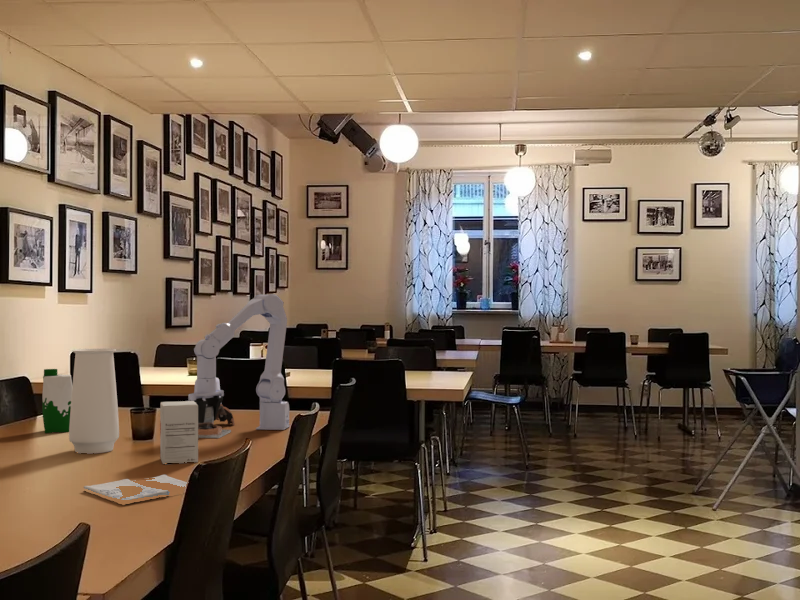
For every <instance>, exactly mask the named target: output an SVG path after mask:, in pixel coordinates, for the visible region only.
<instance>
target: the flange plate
mask: <svg viewBox="0 0 800 600" xmlns="http://www.w3.org/2000/svg"><path fill="white" fill-rule="evenodd" d="M230 433H232V429H224V428H222V426H220V425H217V424H216V425H215V424H214V428H212V429H198V439H219V438H222V437H224V436H226V435H228V434H230Z"/></svg>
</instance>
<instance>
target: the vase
mask: <svg viewBox="0 0 800 600" xmlns="http://www.w3.org/2000/svg"><path fill="white" fill-rule="evenodd" d="M116 351H117V349H116V348H82V349H81V348H80V349H73V350H72V352H73V353H74V354H75V356H74V357H75V358H74V365H73V377H72V398H71V411H70V426H69V432H68V439H69V442H70V443H72V445H73V447H74V451H75V453H76V452H78V453H77V454H81V453H87V454H86V455H89V454H91V455H93V453H94V454H103V453H108V452H111V451H113V450H114V445H115V443H116V441H117V440H118V439H119V437H120V425H119V424H120V422H119V421H120V420H119V406H118V395H117V394H118V393H117V382H116V381H117V380H116V370H115V367H116V366H115V358H114V357H115V356H114V353H115V352H116Z"/></svg>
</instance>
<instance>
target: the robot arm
mask: <svg viewBox="0 0 800 600" xmlns="http://www.w3.org/2000/svg"><path fill="white" fill-rule="evenodd" d="M256 315H258V316H259V315H260V316H262V317H264V319H265V320H267V322H268V323H269V331H268V338H267V339H268V340H267V347H266V356H265V363H264V364H265V365H264V371H263V372H262V373H261V374H260V377H259V381H258V383H257V385H256V388H255V392H256V395H257V396H258V397H259V426H257V427H256V428H255V430H264V431H265V430H266V431H267V430H270V431H271V430H274V431H276V430H277V431H279V430H280V431H281V430H283V431H284V430H286V429H288V428H289V427H291V425H290V404H289V401H284V400H283V398H284V397H285V395H286V386H285V378H284V375H283V374H282V365H283V359H284V358H283V356H284V350H285V341H286V333H287V325H288V317H287V315H286V311H285V308H284V301H283V300H282V299H281V298H280V296H278V295H277V294H276V293H270V294H257V295H255V296H254V297H253V298H252V299H250V300H249V301H248V302H247V303H246V304H245V305H244V306H243V307H242V308H241V309H240V310H239V311H238V312H237V313H236V314H235V315H234V316H232V318H231V319H230V320H229V321H228V322H222V323H217V324H215V329H213V330H212V331H211V332H210V333H209V334H205V335H204V339H200V340H198V341H197V342H196V344H195V346H194V348H193V351H194V354H195V356H196V374H197V375H196V380H197V392H195V393H194V392H192V393H189V394H188V397H187V399H188V400H187V401H194V402H196V404H197V405H198V423H204V418H205V409H206V405H207V406H213V408H214V422H215V421H216V416H217V412H218V409H219V406H220V404H222V403H223V400H224V398H223V397H224V396H225V393H224V392H225V391H224V390H223V389H220V390H216V378H217V359H216V357H217V356H218V355H219V353H220V350H221V349H222V348H223V347H225V345H226V344H228V342H229V341H230V340H232V339H233V338H234V337H235V333H236V331H237V330H238V329H239V328H240V327H241V326H242V325H244V324H245V323H246V322H247V321H249V320H250V319H251V318H252V317H254V316H256ZM210 395H212V396H210ZM205 396H206V397H205ZM219 396H221V397H219ZM202 399H205V400H206V401H203V400H202Z"/></svg>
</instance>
